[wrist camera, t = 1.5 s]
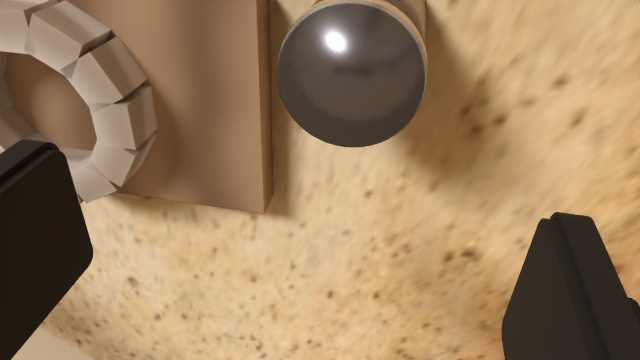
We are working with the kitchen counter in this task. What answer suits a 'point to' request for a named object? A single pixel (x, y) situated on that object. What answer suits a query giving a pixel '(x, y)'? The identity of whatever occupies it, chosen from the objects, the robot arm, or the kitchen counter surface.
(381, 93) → the lens
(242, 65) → the mount board
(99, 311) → the kitchen counter surface
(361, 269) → the kitchen counter surface
